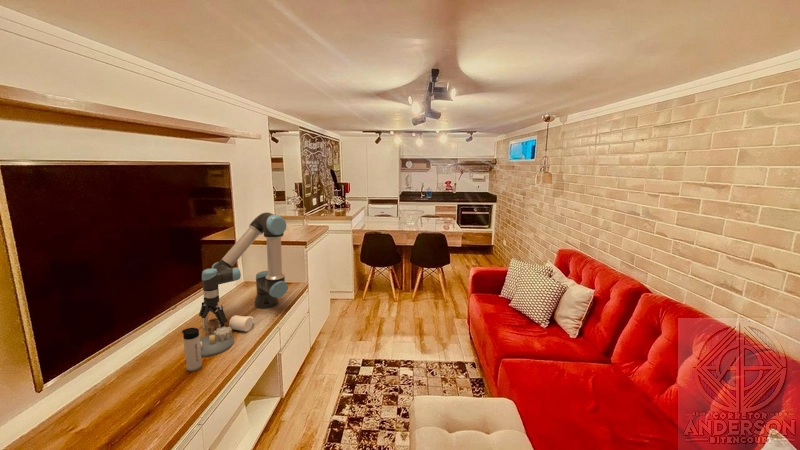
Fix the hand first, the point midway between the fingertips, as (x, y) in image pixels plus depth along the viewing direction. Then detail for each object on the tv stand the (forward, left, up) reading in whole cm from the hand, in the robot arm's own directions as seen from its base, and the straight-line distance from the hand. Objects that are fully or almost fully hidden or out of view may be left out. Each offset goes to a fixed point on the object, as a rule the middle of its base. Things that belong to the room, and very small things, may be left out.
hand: (213, 330), depth 186 cm
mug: (-10, +12, 0) cm, 16 cm away
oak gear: (0, 0, 0) cm, 0 cm away
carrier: (+10, +13, 0) cm, 16 cm away
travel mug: (+27, +21, 0) cm, 34 cm away
